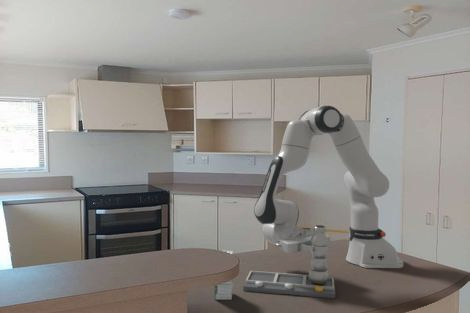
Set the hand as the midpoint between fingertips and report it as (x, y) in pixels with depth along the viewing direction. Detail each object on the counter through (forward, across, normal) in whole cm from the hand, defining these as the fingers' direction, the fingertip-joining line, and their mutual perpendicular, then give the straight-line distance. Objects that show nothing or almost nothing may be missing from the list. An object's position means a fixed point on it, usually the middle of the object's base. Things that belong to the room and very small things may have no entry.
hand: (321, 248), depth 135 cm
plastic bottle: (-1, 0, +13) cm, 13 cm away
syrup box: (-12, -32, +14) cm, 37 cm away
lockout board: (-7, -8, +14) cm, 18 cm away
